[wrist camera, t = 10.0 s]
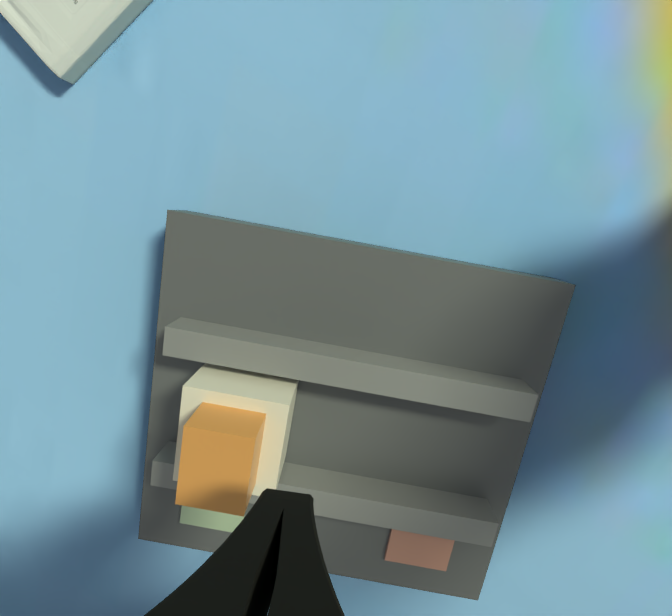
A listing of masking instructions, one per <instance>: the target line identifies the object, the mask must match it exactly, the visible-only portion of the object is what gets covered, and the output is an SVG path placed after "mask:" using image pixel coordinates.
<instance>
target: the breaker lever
mask: <svg viewBox="0 0 672 616" xmlns="http://www.w3.org/2000/svg"><path fill="white" fill-rule="evenodd" d="M298 381H299V380H296V379H290V378H285V377H279V376H274V375H268V374H263V373H257V372H252V371H246V370H241V369H236V368H230V367H225V366H219V365H214V364H208V363H205V364H204V365H203V366H202V367H201V368H200V369H199V370H198V371H197V372H196V373H195V374H194V375H193V376H192V377H191V378H190V379H189V380H188V381H187V382H186V383H185V384H184V385H183V388H182V397H181V407H180V416H179V426H178V435H177V444H176V454H175V463H174V473H173V481H178V482H177V491H176V500H175V504H177V505H183V506H188V507H194V508H199V509H205V510H210V511H216V512H221V513H227V514H232V515H238V516H243V517H244V515H245V512H246V509H247V506H248V503H249V501H250V498H251V495H256V496H260V495H261V493H262V492H263V491H264V490H265V489H267V488H269V489H276V490H277V486H278V482H279V479H280V475H281V471H282V468H283V464H284V460H285V457H286V452H287V446H288V440H289V434H290V428H291V422H292V417H293V411H294V405H295V399H296V393H297V387H298Z"/></svg>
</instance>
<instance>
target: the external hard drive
mask: <svg viewBox="0 0 672 616" xmlns="http://www.w3.org/2000/svg"><path fill="white" fill-rule="evenodd" d="M152 1H153V0H0V13H1V14H2V15H3V17H4V18H5V19H6V20H7V21H8V22H9V23H10V24H11V26H12V27H13V28H14V29H15V30H16V31H17V32H18V34H19V35H20V36H21V37H22V38H23V39H24V40H25V41H26V43H27V44H28V45H29V46H30V47H31V48H32V49H33V50H34V52H35V53H36V54H37V55H38V56H39V57H40V58H41V60H42V61H43V62H44V63H45V64H46V65H47V66H48V67H49V68H50V69H51V70H52V71H53V72H54V73H55V74H56V75H57V76H58V77H59V78H61V79H63V80H65V81H67V82H69V83H71V84H75V83H76V82H77V81H78V80H79V78H80V77H81V76H82V75H83V74H84V73H85V72H86V71H87V70H88V69H89V68H90V67H91V66H92V65H93V63H94V62H95V61H96V60H97V59H98V58H99V57H100V56H101V55H102V54H103V53H104V52H105V51H106V49H107V48H108V47H109V46H110V45H111V44H112V43H113V42H114V41H115V40H116V39H117V38H118V37H119V36H120V34H121V33H122V32H123V31H124V30H125V29H126V28H127V27H128V26H129V25H130V24H131V23H132V22H133V21H134V20H135V19H136V18H137V17H138V16H139V15H140V14H141V12H142V11H143V10H144V9H145V8H146V7H147V6H148V5H149V4H150V3H151V2H152Z"/></svg>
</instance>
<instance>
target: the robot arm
mask: <svg viewBox="0 0 672 616" xmlns="http://www.w3.org/2000/svg"><path fill="white" fill-rule="evenodd" d="M313 502H314V498H313V497H312V496H311V495H310V494H304V493H297V492H290V491H283V490H276V489H269V488H267V489H265V490H264V491H263V492H262V493H261V495H260V496H259V498H258V500H257V501H256V502H255V504H254V505H253V507H252V508H251V509H250V511H249V512H248V513H247V515H246V516H245V517H244V519H243V520H242V521H241V522H240V524H239V525H238V526H237V527H236V528H235V530H234V531H233V532H232V533H231V534H230V536H229V537H228V538H227V539H226V540H225V541H224V542H223V544H222V545H221V546H220V547H219V548H218V549H217V550H216V551H215V552H214V553H213V554H212V555H211V556H210V557H209V558H208V559H207V561H206V562H205V563H204V564H203V565H202V566H201V567H200V568H199V569H198V570H196V571H195V572H194V573H193V574H192V575H191V576H190V577H189V578H188V579H187V580H186V581H185V582H184V583H183V584H181V585H180V586H179V587H178V588H177V589H176V590H175V591H174V592H172V593H171V594H170V595H169V596H168V597H166V598H165V599H164V600H163V601H161V602H160V603H159V604H158V605H157V606H155V607H154V608H153V609H152V610H150V611H149V612H148V613H147V614H145V615H144V616H267V613H268V616H345V615H344V613H343V611H342V608H341V606H340V604H339V601H338V599H337V596H336V594H335V591H334V588H333V585H332V583H331V580H330V577H329V574H328V571H327V568H326V564H325V561H324V558H323V554H322V550H321V546H320V542H319V538H318V534H317V529H316V523H315V517H314V505H313ZM269 606H270V607H269ZM268 610H269V612H268Z"/></svg>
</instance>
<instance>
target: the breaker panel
mask: <svg viewBox="0 0 672 616" xmlns="http://www.w3.org/2000/svg"><path fill="white" fill-rule="evenodd" d="M574 288H575V285H574V284H571V283H567V282H564V281H561V280H557V279H554V278H550V277H544V276H539V275H534V274H528V273H523V272H517V271H512V270H506V269H501V268H495V267H490V266H485V265H479V264H474V263H468V262H463V261H457V260H452V259H447V258H441V257H436V256H430V255H425V254H419V253H414V252H409V251H403V250H398V249H392V248H387V247H381V246H376V245H371V244H365V243H360V242H354V241H349V240H343V239H338V238H333V237H327V236H322V235H316V234H311V233H305V232H300V231H295V230H289V229H284V228H278V227H273V226H267V225H262V224H257V223H251V222H246V221H240V220H235V219H229V218H224V217H219V216H213V215H208V214H202V213H197V212H191V211H184V210H167V221H166V232H165V243H164V255H163V266H162V277H161V288H160V300H159V311H158V322H157V334H156V345H155V356H154V368H153V379H152V390H151V401H150V413H149V424H148V435H147V447H146V458H145V469H144V480H143V492H142V503H141V514H140V526H139V537H138V539H143V540H148V541H154V542H159V543H165V544H170V545H176V546H181V547H187V548H192V549H198V550H203V551H209V552H215V551H216V550H217V549H218V548H219V547H220V546H221V545H222V544H223V542H224V541H225V540H226V539H227V538H228V537H229V536H230V534H231V533H232V532H233V531H234V530H235V528H236V527H237V526H238V525H239V524H240V522H241V521H242V520H243V519H244V517H245V516H246V515H247V513H248V512H249V511H250V509H251V508H252V507H253V505H254V504H255V502H256V501H257V500H258V498H259V496H256V495H251V498H250V501H249V503H248V506H247V509H246V512H245V515H244V517H243V516H238V515H232V514H227V513H221V512H216V511H210V510H205V509H199V508H194V507H188V506H183V505H177V504H175V500H176V491H177V482H178V481H173V473H174V463H175V454H176V444H177V435H178V426H179V416H180V407H181V397H182V388H183V385H184V384H185V383H186V382H187V381H188V380H189V379H190V378H191V377H192V376H193V375H194V374H195V373H196V372H197V371H198V370H199V369H200V368H201V367H202V366H203V365H204V364H205V363H208V364H214V365H219V366H225V367H230V368H236V369H241V370H246V371H252V372H257V373H263V374H268V375H274V376H279V377H285V378H290V379H296V380H299V381H298V387H297V393H296V399H295V405H294V411H293V417H292V422H291V428H290V434H289V440H288V446H287V452H286V457H285V460H284V464H283V468H282V471H281V475H280V479H279V482H278V486H277V490H283V491H290V492H297V493H304V494H310V495H311V496H312V497H313V498H314V502H313V505H314V517H315V523H316V529H317V534H318V538H319V542H320V546H321V550H322V554H323V558H324V561H325V564H326V568H327V571H328V573H330V574H336V575H341V576H347V577H352V578H358V579H363V580H369V581H374V582H380V583H385V584H391V585H396V586H402V587H407V588H413V589H418V590H424V591H429V592H435V593H440V594H446V595H451V596H457V597H462V598H468V599H473V600H478V598H479V595H480V592H481V589H482V585H483V582H484V579H485V576H486V572H487V569H488V566H489V563H490V559H491V556H492V553H493V550H494V547H495V543H496V540H497V537H498V534H499V530H500V527H501V524H502V521H503V518H504V514H505V511H506V508H507V505H508V501H509V498H510V495H511V492H512V489H513V485H514V482H515V479H516V476H517V472H518V469H519V466H520V463H521V459H522V456H523V453H524V450H525V447H526V443H527V440H528V437H529V434H530V430H531V427H532V424H533V421H534V418H535V414H536V411H537V408H538V405H539V401H540V398H541V395H542V392H543V389H544V385H545V382H546V379H547V376H548V372H549V369H550V366H551V363H552V359H553V356H554V353H555V350H556V347H557V343H558V340H559V337H560V334H561V330H562V327H563V324H564V321H565V318H566V314H567V311H568V308H569V305H570V301H571V298H572V295H573V292H574Z"/></svg>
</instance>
